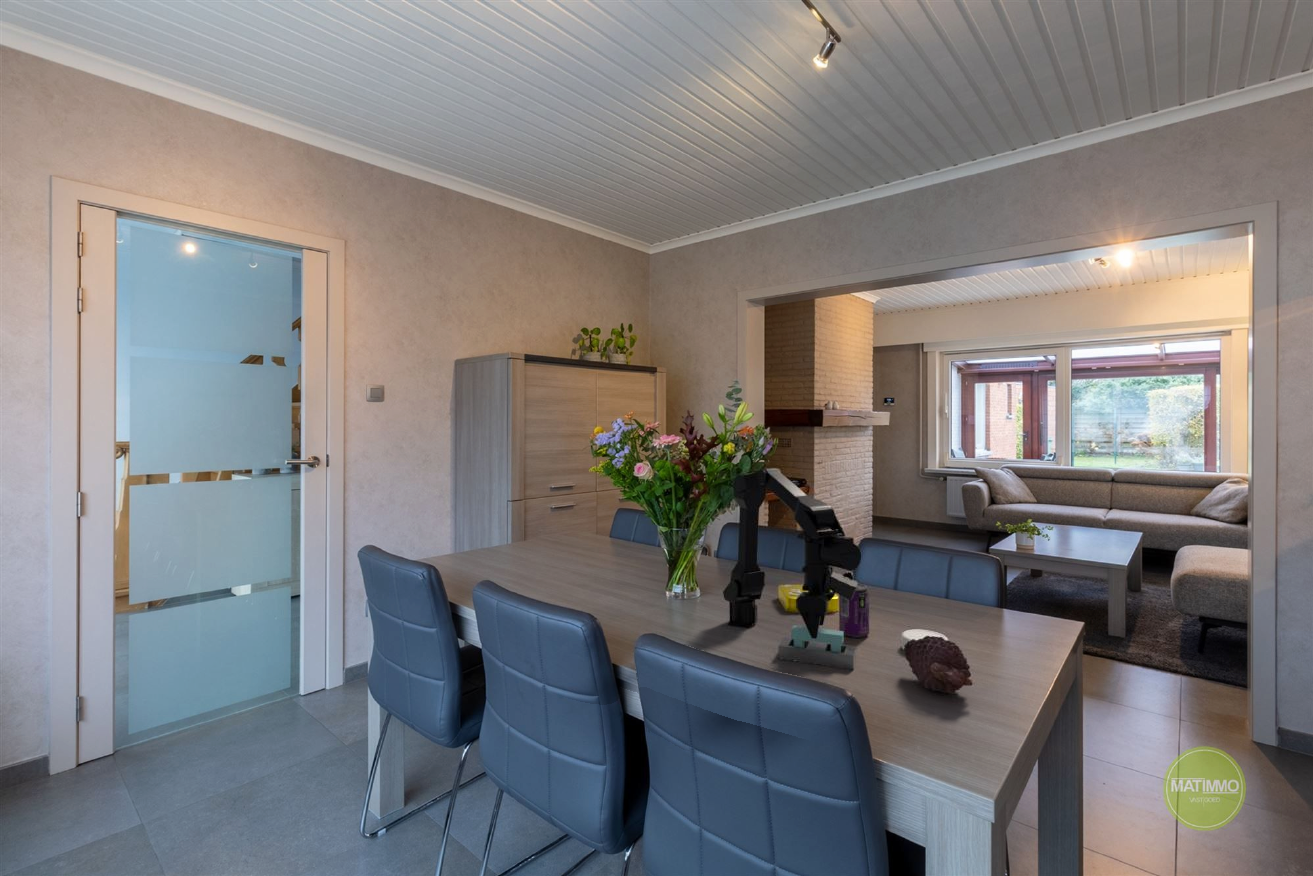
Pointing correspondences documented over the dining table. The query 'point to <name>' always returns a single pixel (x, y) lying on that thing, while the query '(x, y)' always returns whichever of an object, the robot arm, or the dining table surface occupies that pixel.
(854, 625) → the beverage can
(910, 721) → the dining table surface
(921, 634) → the coaster
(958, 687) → the pine cone
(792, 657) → the grey slotted base block
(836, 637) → the clip
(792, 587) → the element tile
